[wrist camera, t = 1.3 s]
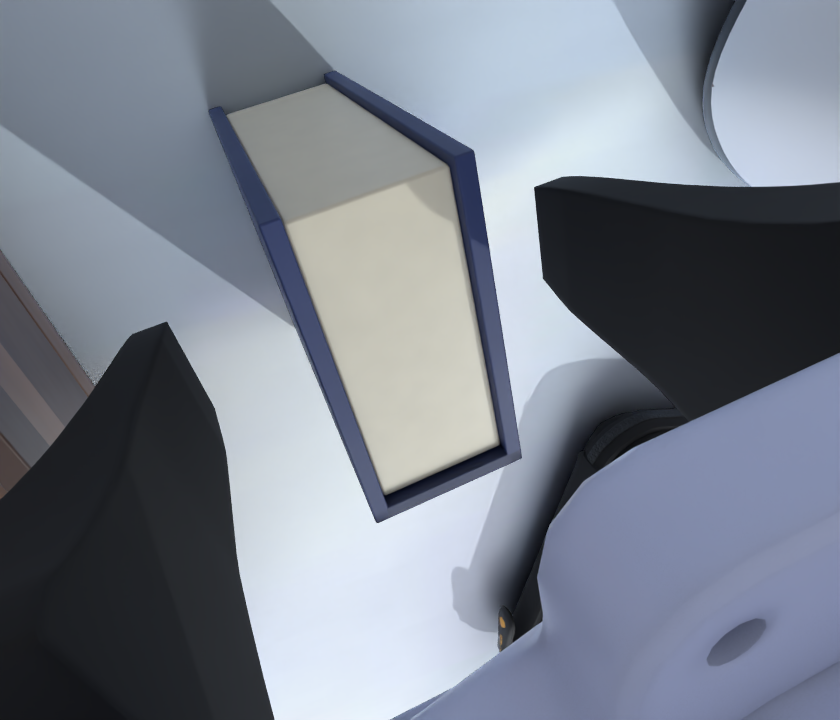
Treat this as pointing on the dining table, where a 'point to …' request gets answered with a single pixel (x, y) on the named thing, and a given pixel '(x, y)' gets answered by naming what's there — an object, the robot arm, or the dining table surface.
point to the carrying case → (597, 454)
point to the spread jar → (776, 92)
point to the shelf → (32, 380)
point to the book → (382, 283)
